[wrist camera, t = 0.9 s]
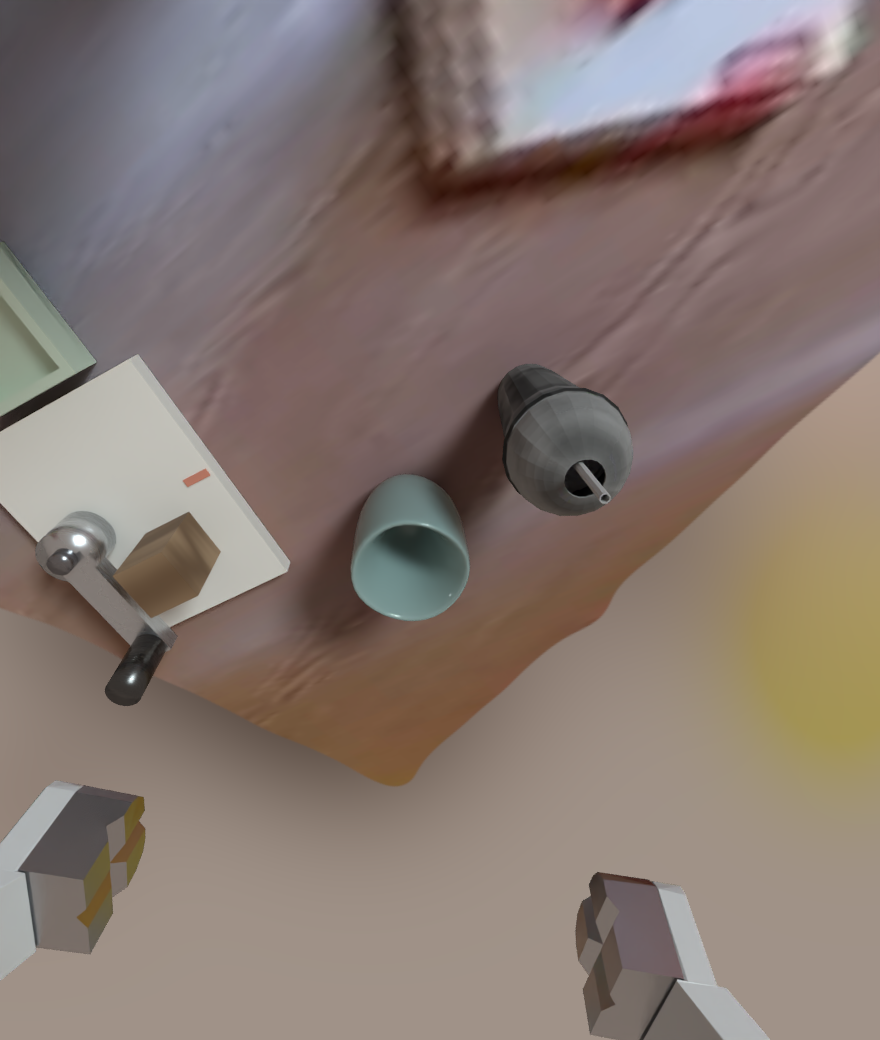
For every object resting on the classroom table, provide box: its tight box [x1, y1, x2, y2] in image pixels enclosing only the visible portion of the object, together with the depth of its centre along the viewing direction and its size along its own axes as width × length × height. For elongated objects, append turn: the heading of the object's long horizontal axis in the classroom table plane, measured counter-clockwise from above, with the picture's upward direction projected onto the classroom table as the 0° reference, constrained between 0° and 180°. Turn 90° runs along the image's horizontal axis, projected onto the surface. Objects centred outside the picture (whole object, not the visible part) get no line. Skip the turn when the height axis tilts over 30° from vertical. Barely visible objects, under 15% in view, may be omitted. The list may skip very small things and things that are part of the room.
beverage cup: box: [498, 364, 633, 516], centre depth 35 cm, size 7×7×20 cm
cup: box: [351, 474, 470, 621], centre depth 43 cm, size 8×8×10 cm
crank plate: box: [0, 354, 290, 627], centre depth 46 cm, size 19×15×2 cm
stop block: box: [113, 512, 221, 618], centre depth 44 cm, size 4×4×6 cm
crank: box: [35, 511, 177, 706], centre depth 43 cm, size 12×4×8 cm, turn 26°
